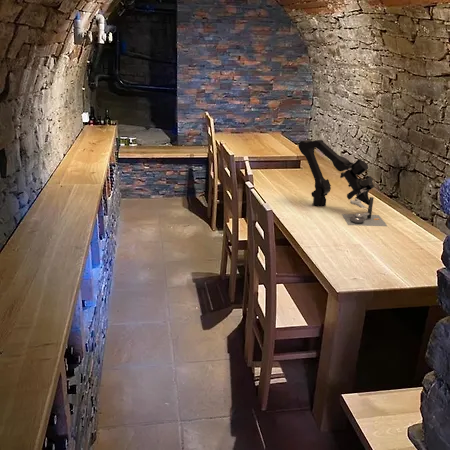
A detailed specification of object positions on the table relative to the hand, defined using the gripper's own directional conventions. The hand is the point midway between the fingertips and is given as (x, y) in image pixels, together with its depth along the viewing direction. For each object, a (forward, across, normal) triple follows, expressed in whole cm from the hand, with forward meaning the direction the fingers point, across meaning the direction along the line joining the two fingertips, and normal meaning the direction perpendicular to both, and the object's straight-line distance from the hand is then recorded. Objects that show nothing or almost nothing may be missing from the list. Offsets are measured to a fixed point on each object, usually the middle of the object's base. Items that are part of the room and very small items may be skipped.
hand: (369, 204), depth 258 cm
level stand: (+6, -4, +6) cm, 9 cm away
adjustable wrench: (-3, +16, +16) cm, 22 cm away
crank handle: (+4, -7, +5) cm, 10 cm away
